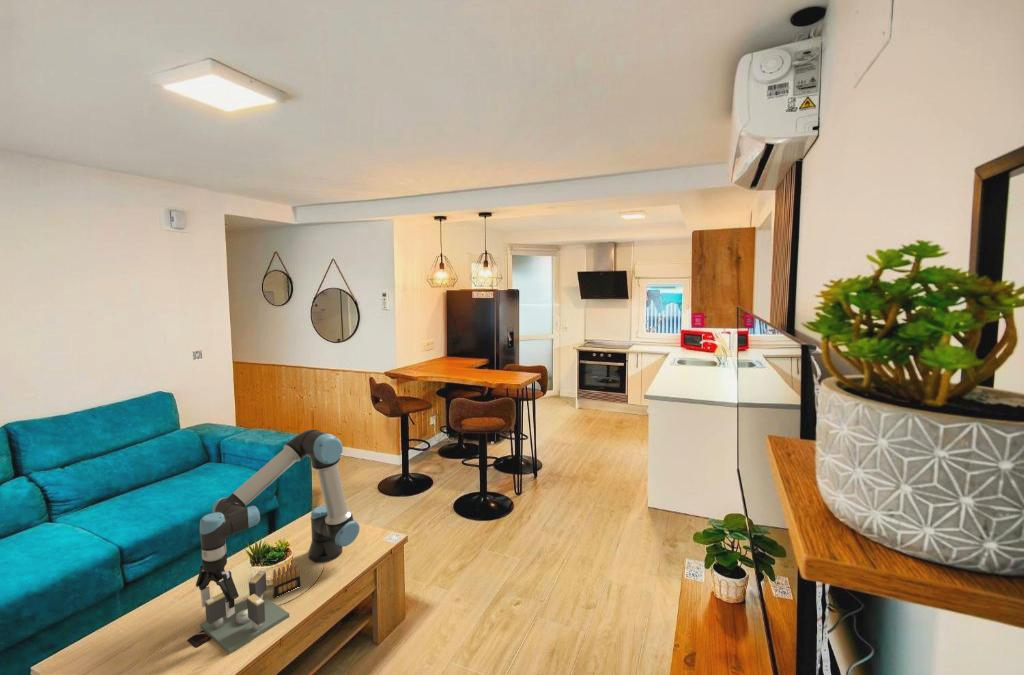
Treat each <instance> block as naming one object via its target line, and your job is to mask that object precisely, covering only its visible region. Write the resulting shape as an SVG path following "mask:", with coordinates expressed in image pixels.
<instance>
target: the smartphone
mask: <svg viewBox="0 0 1024 675" xmlns="http://www.w3.org/2000/svg"><path fill="white" fill-rule="evenodd" d="M211 640H213V639H212V638H211V637H210V636H209V635H208V634H207V633H206V632H204V631H203V630H202V629H201V631H198V632H197V633H196V634H194V635H192V636H190V637H189V638H188V639H187V640H186V642H187V643H188V644H190V645H191V646H193V647H194V648H199V647H201V646H203V645H205V644H206V643H207V642H209V641H211Z"/></svg>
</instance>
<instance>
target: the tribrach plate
mask: <svg viewBox="0 0 1024 675" xmlns="http://www.w3.org/2000/svg"><path fill="white" fill-rule="evenodd" d="M263 600H264V606H265V622H263V623H262V628H261V629H260V630H258V631H253V629H252V620H251V619H249V618H248V606H247V598H246V599H244V600H242V601H241V602H239V603H236V604H235V606H234V607H235V613H234V614H233V615H231V616H230V617H228V618H227V617H226V616H224V617H223V622H224V625H223V627H221V628H219V629H215V628H214V622H213V623H211V624H209V623H208V622H206V620H205V621H204V622H202V623H200V624H199V628H200V630H201V631H202V630H203V631H204V632H206V633H207V634H208V635H209V636H210V637H211V638H212V639H211V640H213V641H214V642H215V643H216V644H217V645H218V646H219V647H221V648H222V649H223V650H224V651H225V652H226V653H227V654H228V655H230V654H233V653H234V652H235V651H237V650H239V649H240V648H241V647H243V646H245V645H246V644H248V643H250V642H251V641H253V640H255V639H256V638H258V637H260V636H262V635H263V634H265V633H266V632H268V631H269V630H270V629H272V628H274V627H276V626H278V624H280V623H282V622H284V621H285V620H287V619H289V618H290V612H288V611H287V610H286V609H283V607H281V606H280V605H278V604H277V603H275V602H274V601H272V600H270V598H268V597H267V596H265V595H264V594H263Z"/></svg>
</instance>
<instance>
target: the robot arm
mask: <svg viewBox="0 0 1024 675" xmlns="http://www.w3.org/2000/svg"><path fill="white" fill-rule="evenodd" d="M342 453H343V444H342V441H341V440H340V439H339V438H338V437H336V436H335V435H333V434H331V433H327V432H323V431H322V430H321V431H320V430H319V429H314V428H313V429H308V430H304V431H303V432H300V433H299V434H297V435H296V436H294V437H292V438H291V439H290V440H289V441H287V443H285V444H284V445H283V449H282V450H281V451H279V452H278V453H277V454H276V455H275V456H274V457H272V458H271V460H269V461H268V462H267V463H266V464H264V466H262V467H261V468H260V469H259V470H257V472H255V473H254V474H253V475H252V476H251V477H249V478H248V479H247V480H246V481H245V482H243V484H242V485H240V486H239V487H238V488H237V489H235V491H233V492H232V493H231V494H230V495H228V496H227V497H221V498H219V499H216V501H215V502H214V503H213V505H212V509H211V510H212V512H211V513H207V514H205V515H204V516H202V518H200V520H199V537H200V545H201V546H200V548H201V559H202V560H201V562H202V565H200V566H199V572H198V573H199V574H198V577H197V580H196V581H195V582H196V583H195V587H196V588H199V591H200V598H201V607H202V608H205V601H206V600H208V599H210V598H211V593H210V586H209V585H210V582H211V581H212V582H214V583H215V584H216V586H219V587H220V590H221V593H222V592H223V594H224V595H225V597H226V599H227V600H226V601H225V604H226V617H227V618H228V617H230V616H231V615H233V614H234V613H235V607H234V606H235V605H236V604H235V599H237V598H239V597H240V596H239V593H238V590H237V587H236V585H235V582H234V579H233V576H232V571H230V570H228V571H225V570H226V569H225V567H226V566H227V563H228V558H227V557H228V556H227V552H228V551H227V543H226V541H227V540H226V538H227V537H229V536H232V535H235V534H237V533H241V532H242V531H246V530H247V529H250V528H252V527H254V526H256V525H258V524H259V523H260V520H261V514H260V510H259V508H257V506H256V505H251V506H247V505H249V504H250V503H251V502H252V501H253V500H255V498H257V497H258V496H259V495H260V494H261V493H262V492H264V491H265V489H267V488H268V487H269V486H271V484H273V482H274V481H276V480H277V479H278V478H279V477H280V476H281V475H283V474H284V473H285V472H286V470H288V469H290V467H292V466H293V464H295V463H296V462H300V461H302V460H303V459H304V458H305V457H309V458H310V463H311V466H312V469H314V470H317V475H318V480H319V484H320V489H321V493H322V496H323V501H324V505H320V506H317V507H315V508H314V509H313V510H312V511H311V514H310V520H311V521H310V524H311V525H310V526H311V528H310V529H311V543H310V546H309V549H308V559H309V560H310V561H311V562H314V563H326V562H330V561H333V560H335V559H337V558H338V557H339V556H341V554H343V547H347V546H349V545H351V544H352V543H354V542H355V541H356V539H357V537H358V536H359V533H360V529H361V528H360V526H361V525H360V524H359V523H358V521H356V520H354V517H353V512H352V509H351V508H348V506H347V505H348V504H347V501H346V497H345V492H344V488H343V485H342V484H343V483H342V478H341V473H340V469H339V465H338V464H339V462H340V461H341V457H342V455H341V454H342ZM246 506H247V507H246Z"/></svg>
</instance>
